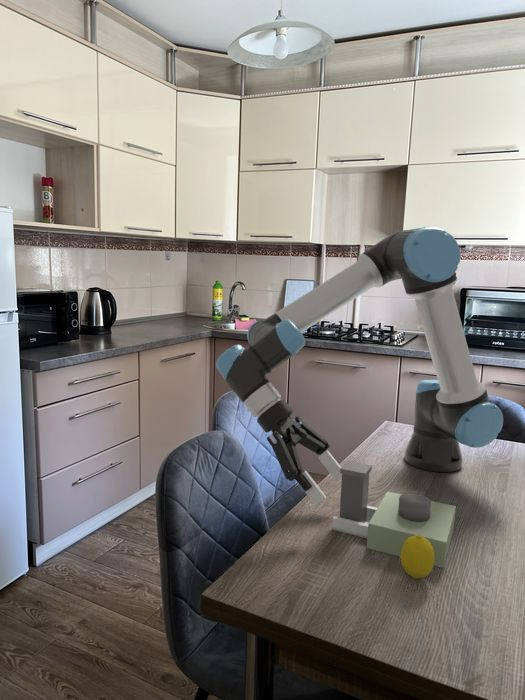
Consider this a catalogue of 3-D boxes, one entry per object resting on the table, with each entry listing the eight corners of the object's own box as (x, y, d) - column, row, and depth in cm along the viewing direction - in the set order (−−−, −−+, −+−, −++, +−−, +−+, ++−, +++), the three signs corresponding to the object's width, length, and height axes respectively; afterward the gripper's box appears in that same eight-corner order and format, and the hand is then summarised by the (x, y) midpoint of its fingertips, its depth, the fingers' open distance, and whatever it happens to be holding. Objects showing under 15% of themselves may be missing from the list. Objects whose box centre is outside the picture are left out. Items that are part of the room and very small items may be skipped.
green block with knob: (326, 537, 103) (328, 499, 101) (349, 505, 117) (352, 471, 116) (443, 568, 93) (447, 526, 92) (453, 528, 107) (457, 492, 106)
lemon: (434, 590, 87) (438, 545, 85) (399, 585, 88) (403, 541, 86) (430, 571, 92) (434, 529, 91) (398, 567, 93) (401, 525, 92)
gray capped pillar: (337, 523, 107) (340, 468, 105) (344, 513, 112) (347, 460, 110) (361, 530, 105) (365, 473, 103) (368, 519, 110) (371, 465, 108)
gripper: (279, 405, 126) (336, 477, 122) (230, 434, 103) (297, 523, 99) (301, 386, 122) (360, 459, 119) (255, 412, 100) (325, 503, 96)
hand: (331, 488), depth 109 cm, fingers open, 13 cm apart
